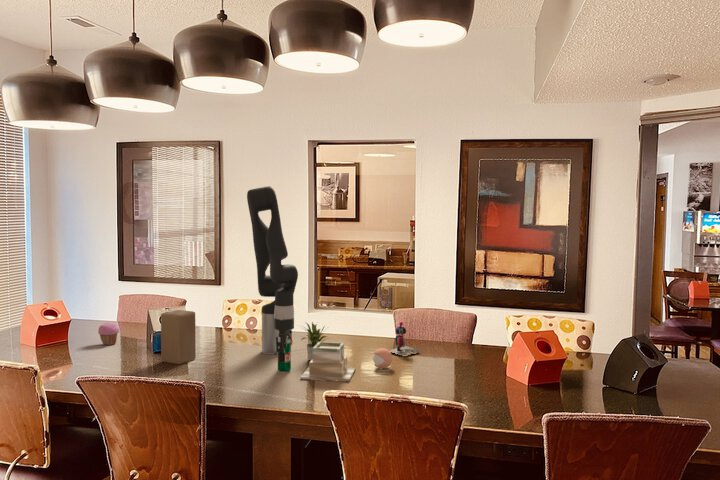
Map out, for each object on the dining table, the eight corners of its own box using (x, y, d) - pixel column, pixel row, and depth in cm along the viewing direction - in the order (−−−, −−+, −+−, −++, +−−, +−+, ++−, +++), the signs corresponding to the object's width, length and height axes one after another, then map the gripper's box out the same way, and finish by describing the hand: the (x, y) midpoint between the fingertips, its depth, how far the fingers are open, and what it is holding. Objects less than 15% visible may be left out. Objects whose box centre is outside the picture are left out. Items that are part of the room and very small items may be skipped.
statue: (403, 360, 235) (401, 326, 233) (388, 355, 242) (385, 322, 240) (421, 353, 242) (419, 319, 240) (405, 348, 249) (403, 316, 247)
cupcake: (123, 343, 256) (123, 322, 255) (106, 347, 248) (105, 325, 248) (111, 341, 260) (111, 320, 260) (94, 344, 253) (93, 323, 253)
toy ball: (369, 366, 221) (369, 347, 220) (386, 364, 224) (386, 345, 223) (377, 372, 213) (377, 351, 213) (395, 370, 216) (396, 349, 216)
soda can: (285, 373, 211) (285, 341, 211) (274, 370, 214) (274, 339, 213) (293, 369, 216) (293, 339, 215) (283, 367, 218) (283, 337, 218)
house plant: (288, 359, 230) (288, 320, 230) (312, 353, 241) (313, 315, 240) (311, 366, 221) (311, 325, 220) (336, 359, 231) (336, 320, 230)
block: (196, 359, 230) (196, 311, 229) (179, 365, 221) (178, 315, 220) (178, 356, 234) (177, 309, 233) (160, 362, 225) (159, 313, 224)
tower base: (309, 368, 218) (309, 339, 217) (355, 370, 215) (355, 341, 215) (300, 379, 203) (300, 349, 203) (349, 382, 201) (349, 351, 200)
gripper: (280, 313, 221) (280, 354, 222) (269, 319, 207) (269, 364, 208) (298, 313, 220) (298, 355, 221) (288, 320, 206) (288, 365, 207)
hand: (284, 359), depth 215 cm, fingers open, 6 cm apart
